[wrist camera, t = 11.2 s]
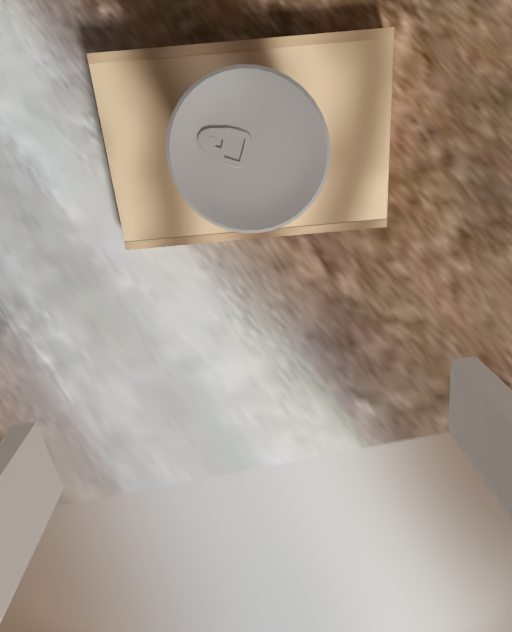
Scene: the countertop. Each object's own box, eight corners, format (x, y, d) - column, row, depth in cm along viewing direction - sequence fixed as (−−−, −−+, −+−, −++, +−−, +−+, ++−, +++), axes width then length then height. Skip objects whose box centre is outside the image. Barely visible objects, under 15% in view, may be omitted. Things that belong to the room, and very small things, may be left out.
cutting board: (131, 243, 35) (125, 249, 33) (95, 58, 30) (86, 53, 28) (378, 221, 35) (386, 226, 33) (384, 33, 30) (394, 26, 28)
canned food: (186, 84, 29) (158, 59, 19) (304, 87, 29) (340, 64, 19) (190, 202, 32) (168, 234, 22) (298, 203, 32) (326, 235, 22)
